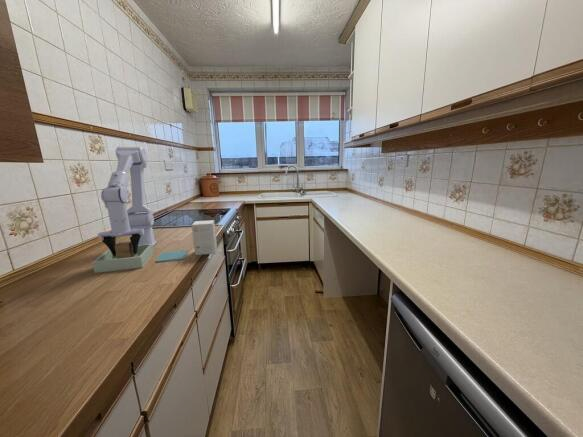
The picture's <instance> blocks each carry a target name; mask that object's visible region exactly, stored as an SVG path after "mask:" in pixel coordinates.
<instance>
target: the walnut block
mask: <svg viewBox="0 0 583 437" xmlns="http://www.w3.org/2000/svg"><path fill="white" fill-rule="evenodd" d="M115 251H116V257H117V259H119V258H129V257H134V256H135V254H134V253H133V247H132V243H131V240H130V241H129V240H128V241H127V240H126V241H119V242H118V243H116V245H115Z"/></svg>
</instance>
